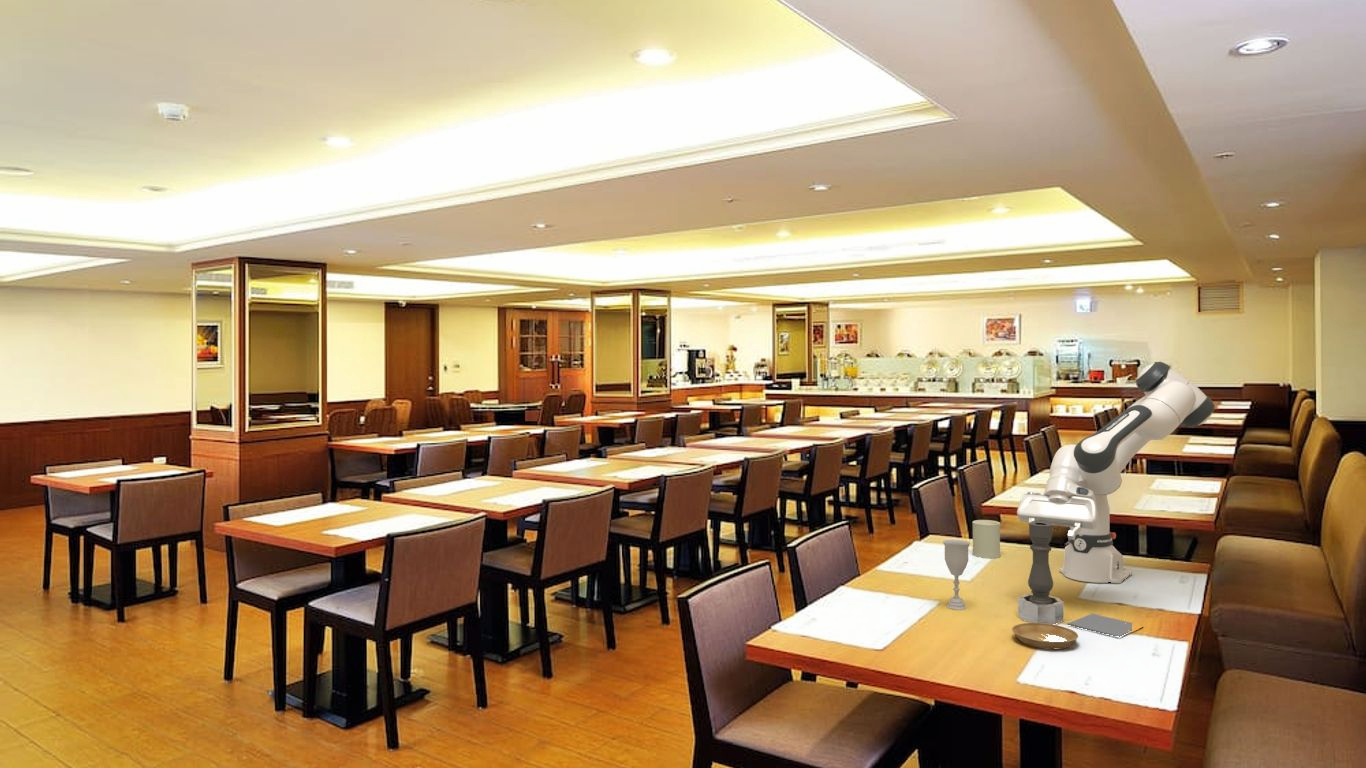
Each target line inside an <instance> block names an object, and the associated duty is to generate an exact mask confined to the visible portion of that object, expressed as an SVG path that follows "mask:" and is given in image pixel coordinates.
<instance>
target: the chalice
mask: <svg viewBox="0 0 1366 768" xmlns="http://www.w3.org/2000/svg"><path fill="white" fill-rule="evenodd" d="M942 543H943V545H944V561H945V563H946V566H947V568H948V571H949V573H950V574H951V575H952V576H954V577H953V578H954V581H953V582H952V583H953V585H954V587H953V589H952V590H953V592H954V594H953V597H951V598H950V599H949V601H948V604H947V605H946V607H947V608H948V609H951V610H958V611H961V610H966V609H967V606H966V604H965V602H964V600H963V598H961V597H960V596H959V591H961V589H960V588H959V584H960V581H959V577H960V576H962V575H963V573H964V572H965V569H966V568H967V565H968V563H969V546H970V544H971V541H968V540H963V539H953V538H952V539H944V540H942Z"/></svg>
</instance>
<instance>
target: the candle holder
mask: <svg viewBox="0 0 1366 768" xmlns="http://www.w3.org/2000/svg"><path fill="white" fill-rule="evenodd" d="M1053 526H1054V525H1053V524H1051V523H1046V522H1030V523H1029V522H1028V536H1029V539H1030V540H1031V543H1032V544H1031V545H1029V549H1030V550H1031V552H1032V564H1031V568H1030V572H1029V577H1028V581H1027V584H1028V586H1029V589H1030V590H1031V594H1033V595H1032V596H1031V597H1030V598H1029V602H1033V603H1038V604H1052V600H1051V598H1050V597H1049V596H1050V593H1051V591H1052V589H1053V587H1054V580H1053V576H1052V572H1051V568H1050V563H1049V562H1050V561H1049V559H1050V558H1049V556H1050V555H1049V554H1050V552H1051V551H1052V546H1050V545H1049V544H1050V542H1051V541H1052V538H1053V529H1054V528H1053Z"/></svg>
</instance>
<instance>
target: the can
mask: <svg viewBox="0 0 1366 768" xmlns="http://www.w3.org/2000/svg"><path fill="white" fill-rule="evenodd" d="M971 555H972V556H973V555H974V557H975V556H976V557H977V558H979V557H981V558H980V559H998V558H1000V557H1002V556H1001V522H999V521H998V520H990V519H977V520H973V521H972V553H971Z"/></svg>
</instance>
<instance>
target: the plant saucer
mask: <svg viewBox="0 0 1366 768" xmlns="http://www.w3.org/2000/svg"><path fill="white" fill-rule="evenodd" d="M1011 630H1012V632H1013V634H1014V635H1015V636H1016V638H1017V639H1018V640H1020V641H1021V642H1022V643H1023V644H1025V645H1028V646H1031V647H1033V648H1038V647H1039V648H1038V649H1044V648H1049V649H1048V650H1055V649H1054V648H1062V649H1066V648H1068V647H1070V646H1071V645H1073V643H1075V642H1076V640H1078V639H1079V634H1078V633H1077V632H1076V631H1075V630H1072V629H1071V628H1068V627H1065V626H1062V625H1058V624H1056V625H1053V624H1046V623H1031V622H1024V623H1019V624H1015V625H1013V626H1012V627H1011ZM1041 634H1043V635H1045V636H1047V637H1048V635H1046V634H1049V635H1056V636H1059V637H1062V638H1065V639H1066V640H1067V641H1064V642H1049V641H1043V640H1041V639H1039V638H1043V639H1046V638H1045V637H1044V636H1042V635H1041ZM1038 637H1039V638H1038ZM1065 647H1066V648H1065ZM1050 648H1051V649H1050Z"/></svg>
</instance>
